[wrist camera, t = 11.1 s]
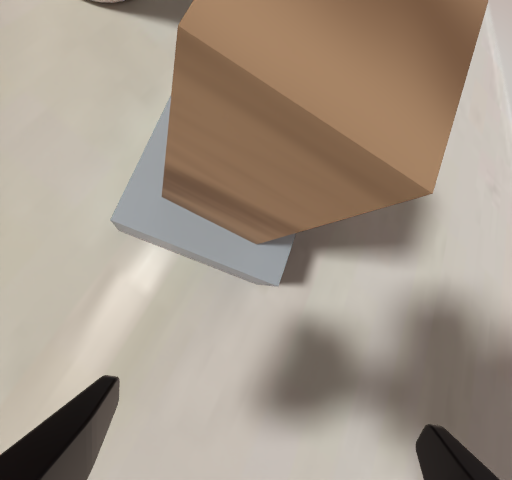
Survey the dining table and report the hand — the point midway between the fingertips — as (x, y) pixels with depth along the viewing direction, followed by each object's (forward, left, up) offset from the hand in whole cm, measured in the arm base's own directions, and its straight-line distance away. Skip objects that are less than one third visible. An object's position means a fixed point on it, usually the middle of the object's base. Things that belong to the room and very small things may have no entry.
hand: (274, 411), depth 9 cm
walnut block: (+9, +3, -8) cm, 13 cm away
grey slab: (+9, +3, -12) cm, 16 cm away
